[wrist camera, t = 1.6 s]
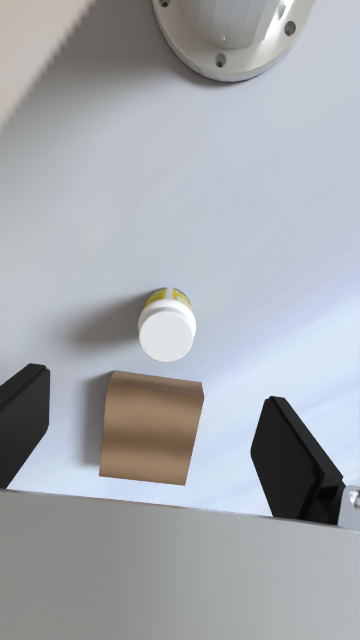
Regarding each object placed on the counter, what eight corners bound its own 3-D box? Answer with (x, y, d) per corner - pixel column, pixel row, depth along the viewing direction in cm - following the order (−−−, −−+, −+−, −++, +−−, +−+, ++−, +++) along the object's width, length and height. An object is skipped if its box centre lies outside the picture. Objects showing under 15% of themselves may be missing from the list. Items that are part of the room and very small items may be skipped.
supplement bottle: (144, 328, 26) (130, 364, 18) (147, 284, 25) (134, 302, 17) (188, 332, 27) (194, 369, 19) (194, 289, 25) (202, 309, 17)
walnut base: (114, 370, 28) (107, 384, 25) (201, 382, 28) (204, 397, 26) (106, 454, 31) (98, 476, 28) (184, 464, 32) (184, 485, 29)
